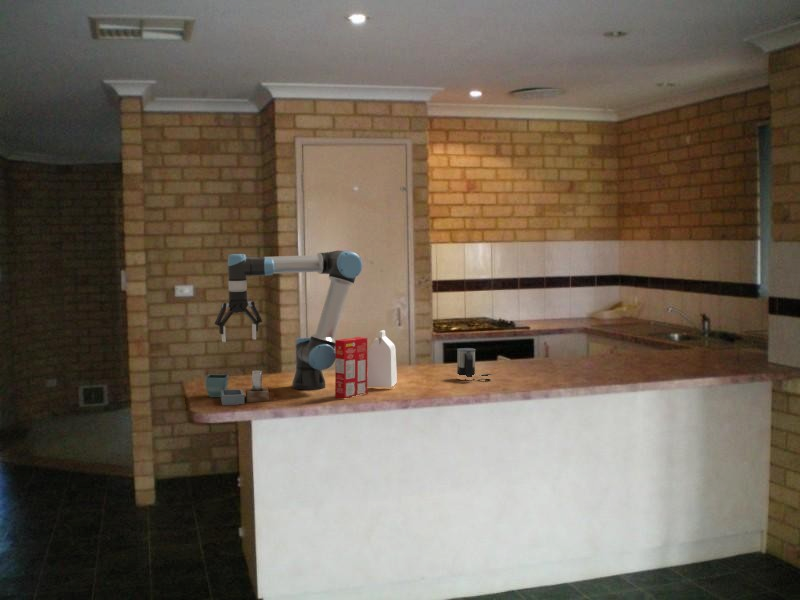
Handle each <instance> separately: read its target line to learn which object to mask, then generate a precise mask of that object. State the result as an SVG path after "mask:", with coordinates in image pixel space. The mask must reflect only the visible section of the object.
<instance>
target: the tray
mask: <svg viewBox="0 0 800 600" xmlns="http://www.w3.org/2000/svg"><path fill="white" fill-rule="evenodd" d="M220 402H221V405H222V406H236V405H237V406H238V405H239V404H242V405H245V393H244V391H243V388H236V389H235V388H233V389H226V390H221V398H220Z"/></svg>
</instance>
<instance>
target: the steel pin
mask: <svg viewBox="0 0 800 600" xmlns="http://www.w3.org/2000/svg"><path fill="white" fill-rule="evenodd" d="M251 373H252V374H251V383H252V384H251V388H252V391H262V388H263V386H262V385H263V384H262V383H263V381H262V380H263V379H262V378H263V375H262V374H263V371H262V370H252V371H251Z"/></svg>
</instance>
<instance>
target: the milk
mask: <svg viewBox="0 0 800 600" xmlns="http://www.w3.org/2000/svg"><path fill="white" fill-rule="evenodd" d="M378 333H379V334H378V337H375V338H374V340H373V341H372V343H371V345H370V346H369V348H368V350H367V387H392V386H394V385H395V384H396V383H397V384H398V378H397V376H398V375H397V373H398V372H397V355H396V354H397V350H396V345H395V343H394V342H393V341H392V340H390V339H389V338H388V336H387V335H386V334H387V333H386V330H385V329H381V330H380V331H379V332H378Z"/></svg>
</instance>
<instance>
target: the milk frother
mask: <svg viewBox="0 0 800 600" xmlns="http://www.w3.org/2000/svg"><path fill="white" fill-rule="evenodd" d="M456 351H457V354H456V355H457V356H456V357H457V359H456V360H457V362H456V363H457V365H456V367H457V372H456V375H457V374H459V375H466V376H467V377H472V375H474V374H475V375H476V349H475V348H472V347H471V348H470V347H464V348H463V347H461V348H456ZM488 375H493V374H490V373H487V374H486V373H485V374H481V376H488Z"/></svg>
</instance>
